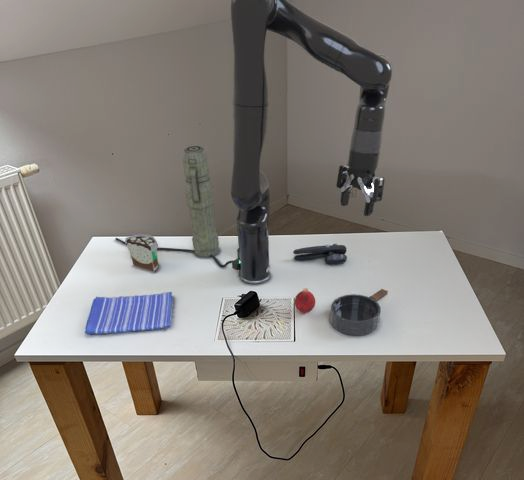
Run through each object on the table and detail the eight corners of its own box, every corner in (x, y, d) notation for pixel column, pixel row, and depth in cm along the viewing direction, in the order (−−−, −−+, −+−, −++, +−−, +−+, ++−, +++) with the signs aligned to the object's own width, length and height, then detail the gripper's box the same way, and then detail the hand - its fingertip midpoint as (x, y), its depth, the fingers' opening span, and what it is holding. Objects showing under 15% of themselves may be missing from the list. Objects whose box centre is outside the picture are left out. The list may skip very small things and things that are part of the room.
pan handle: (372, 305, 133) (373, 300, 132) (366, 302, 134) (367, 297, 133) (387, 295, 136) (388, 290, 135) (381, 293, 138) (382, 287, 136)
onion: (313, 319, 133) (314, 295, 128) (293, 317, 134) (293, 293, 129) (315, 307, 138) (316, 284, 133) (296, 306, 139) (296, 282, 134)
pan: (320, 322, 132) (321, 308, 129) (350, 303, 139) (351, 289, 136) (358, 343, 125) (360, 328, 121) (388, 321, 131) (390, 307, 128)
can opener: (346, 256, 161) (347, 240, 157) (346, 266, 155) (347, 250, 152) (294, 254, 163) (294, 239, 160) (292, 264, 158) (292, 249, 154)
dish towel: (95, 303, 145) (93, 295, 143) (173, 296, 146) (172, 288, 144) (84, 337, 131) (81, 329, 129) (170, 329, 132) (169, 321, 131)
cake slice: (169, 265, 161) (164, 238, 154) (157, 274, 157) (152, 246, 150) (143, 257, 166) (137, 230, 160) (130, 265, 162) (123, 238, 156)
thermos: (193, 261, 162) (177, 155, 140) (195, 245, 172) (180, 143, 149) (219, 259, 163) (207, 153, 140) (220, 243, 172) (209, 141, 150)
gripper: (334, 143, 122) (327, 204, 132) (376, 157, 114) (365, 222, 124) (355, 139, 126) (346, 199, 136) (397, 152, 117) (384, 215, 127)
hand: (355, 210), depth 130 cm, fingers open, 8 cm apart
